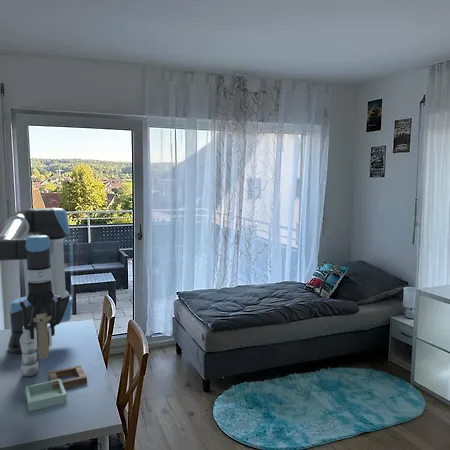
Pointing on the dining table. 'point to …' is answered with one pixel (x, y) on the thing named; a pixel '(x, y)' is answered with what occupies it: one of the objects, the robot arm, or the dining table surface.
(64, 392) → the tray
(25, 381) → the dining table surface
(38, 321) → the handle
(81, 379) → the brown wooden frame
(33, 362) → the plastic bottle
